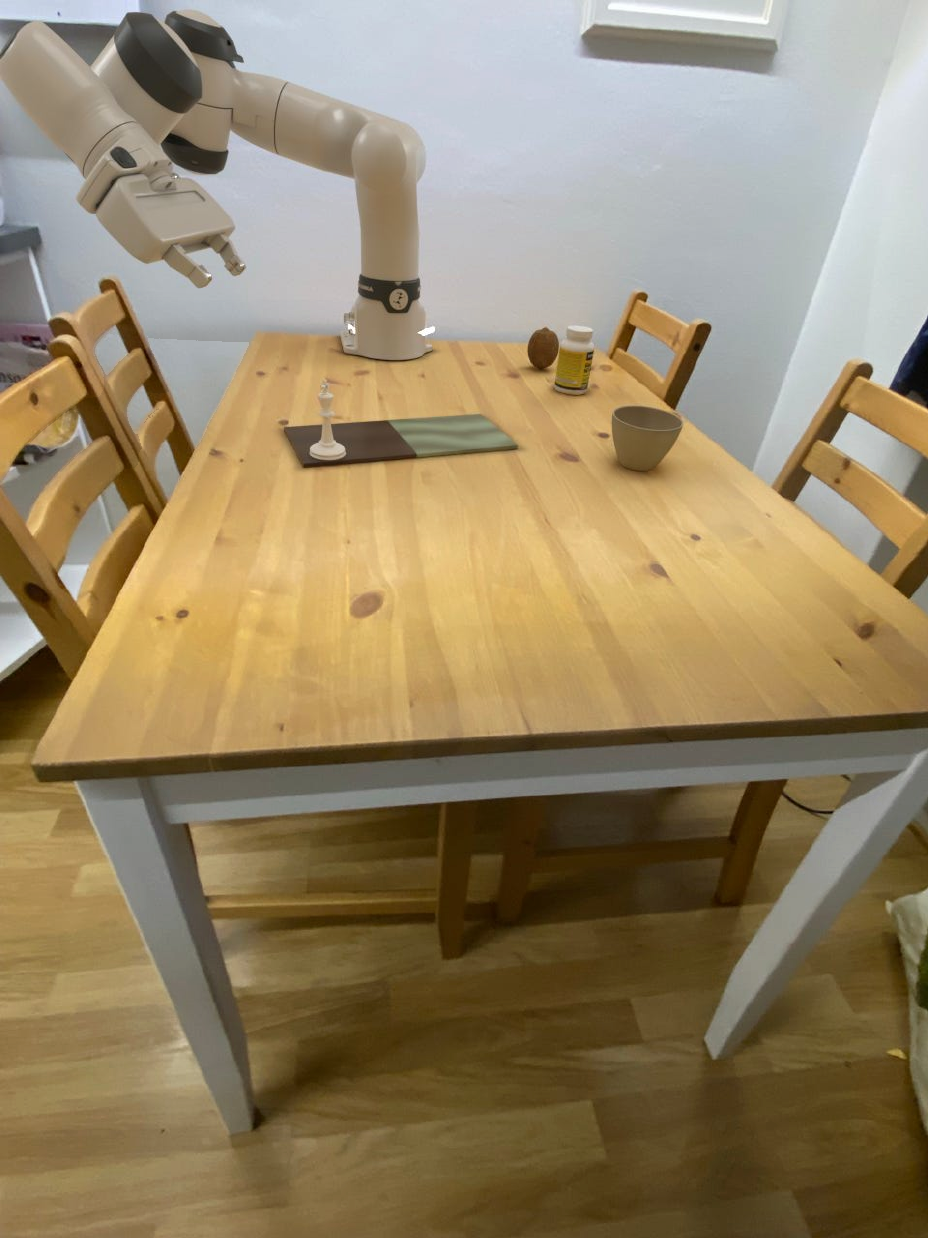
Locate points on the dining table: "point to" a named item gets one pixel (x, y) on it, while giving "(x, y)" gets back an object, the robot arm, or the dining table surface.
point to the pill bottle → (574, 361)
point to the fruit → (543, 348)
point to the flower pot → (643, 435)
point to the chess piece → (326, 430)
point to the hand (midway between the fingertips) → (224, 277)
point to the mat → (402, 439)
